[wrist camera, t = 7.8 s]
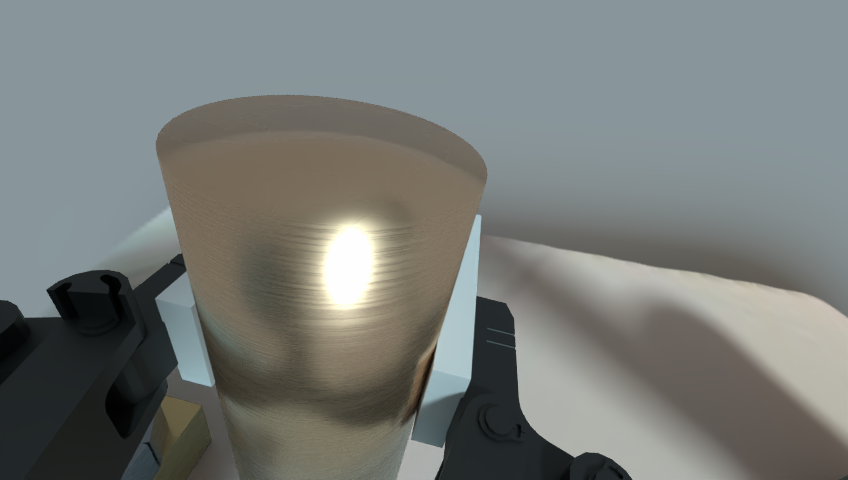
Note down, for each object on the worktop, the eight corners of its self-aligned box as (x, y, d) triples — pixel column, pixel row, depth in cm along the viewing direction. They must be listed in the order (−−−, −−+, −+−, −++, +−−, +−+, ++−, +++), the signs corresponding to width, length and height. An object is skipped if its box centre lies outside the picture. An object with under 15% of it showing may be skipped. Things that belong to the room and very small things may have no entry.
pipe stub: (407, 419, 15) (489, 130, 8) (373, 581, 11) (483, 267, 4) (289, 388, 15) (272, 81, 8) (211, 536, 11) (42, 160, 4)
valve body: (214, 440, 23) (198, 380, 20) (82, 646, 16) (16, 610, 12) (72, 401, 24) (30, 335, 20) (-124, 585, 16) (-248, 532, 12)
